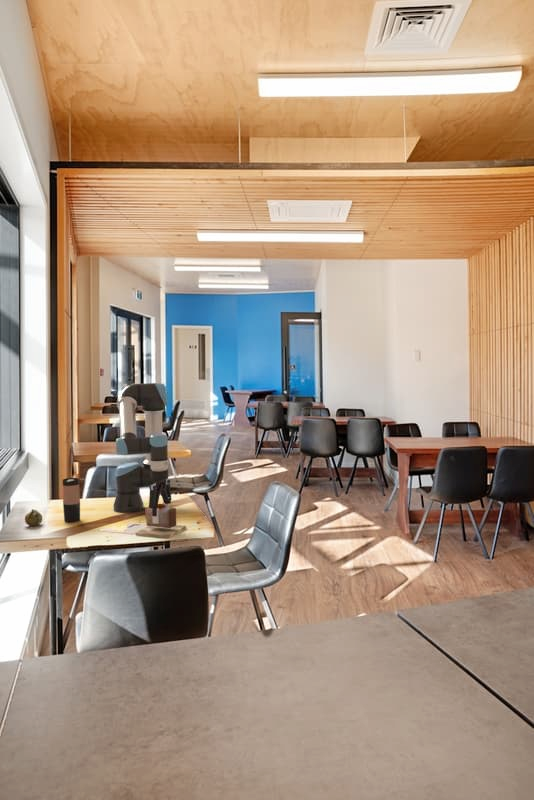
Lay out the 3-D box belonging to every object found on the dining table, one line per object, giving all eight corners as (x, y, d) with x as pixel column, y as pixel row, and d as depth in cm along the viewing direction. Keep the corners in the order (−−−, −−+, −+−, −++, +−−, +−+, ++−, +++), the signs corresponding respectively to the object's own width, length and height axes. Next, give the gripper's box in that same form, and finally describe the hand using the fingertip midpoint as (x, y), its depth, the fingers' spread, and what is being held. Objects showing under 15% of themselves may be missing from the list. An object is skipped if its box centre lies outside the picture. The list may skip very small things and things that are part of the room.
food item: (142, 526, 261) (142, 504, 261) (153, 522, 268) (152, 500, 268) (169, 529, 256) (168, 507, 255) (179, 524, 263) (178, 502, 262)
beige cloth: (155, 525, 272) (154, 523, 272) (186, 528, 267) (185, 525, 267) (135, 535, 258) (135, 532, 257) (168, 538, 252) (168, 535, 252)
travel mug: (76, 517, 289) (74, 477, 288) (83, 520, 284) (82, 479, 282) (61, 520, 284) (59, 479, 283) (68, 523, 278) (66, 481, 277)
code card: (119, 521, 280) (119, 521, 280) (152, 524, 274) (152, 524, 274) (98, 530, 265) (98, 530, 265) (133, 534, 259) (133, 533, 259)
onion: (46, 523, 279) (46, 507, 278) (33, 528, 272) (33, 511, 271) (34, 522, 282) (34, 505, 281) (21, 526, 275) (20, 509, 274)
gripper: (154, 474, 250) (156, 527, 251) (178, 466, 269) (179, 515, 270) (139, 473, 252) (140, 526, 254) (164, 465, 272) (165, 514, 273)
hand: (160, 520), depth 262 cm, fingers closed on food item, 8 cm apart
